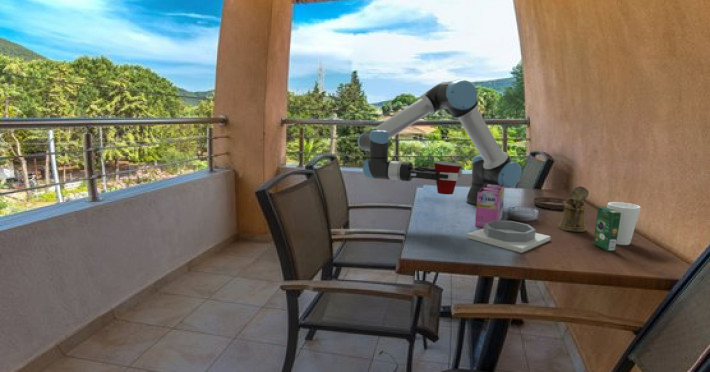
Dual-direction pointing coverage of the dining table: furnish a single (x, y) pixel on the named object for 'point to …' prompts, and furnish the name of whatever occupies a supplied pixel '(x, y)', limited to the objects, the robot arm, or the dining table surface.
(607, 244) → the coffee box
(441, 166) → the plastic cup
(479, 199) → the gum box
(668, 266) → the dining table surface
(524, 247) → the cup holder
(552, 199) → the plant saucer
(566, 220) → the wooden mug
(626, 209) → the foam cup
